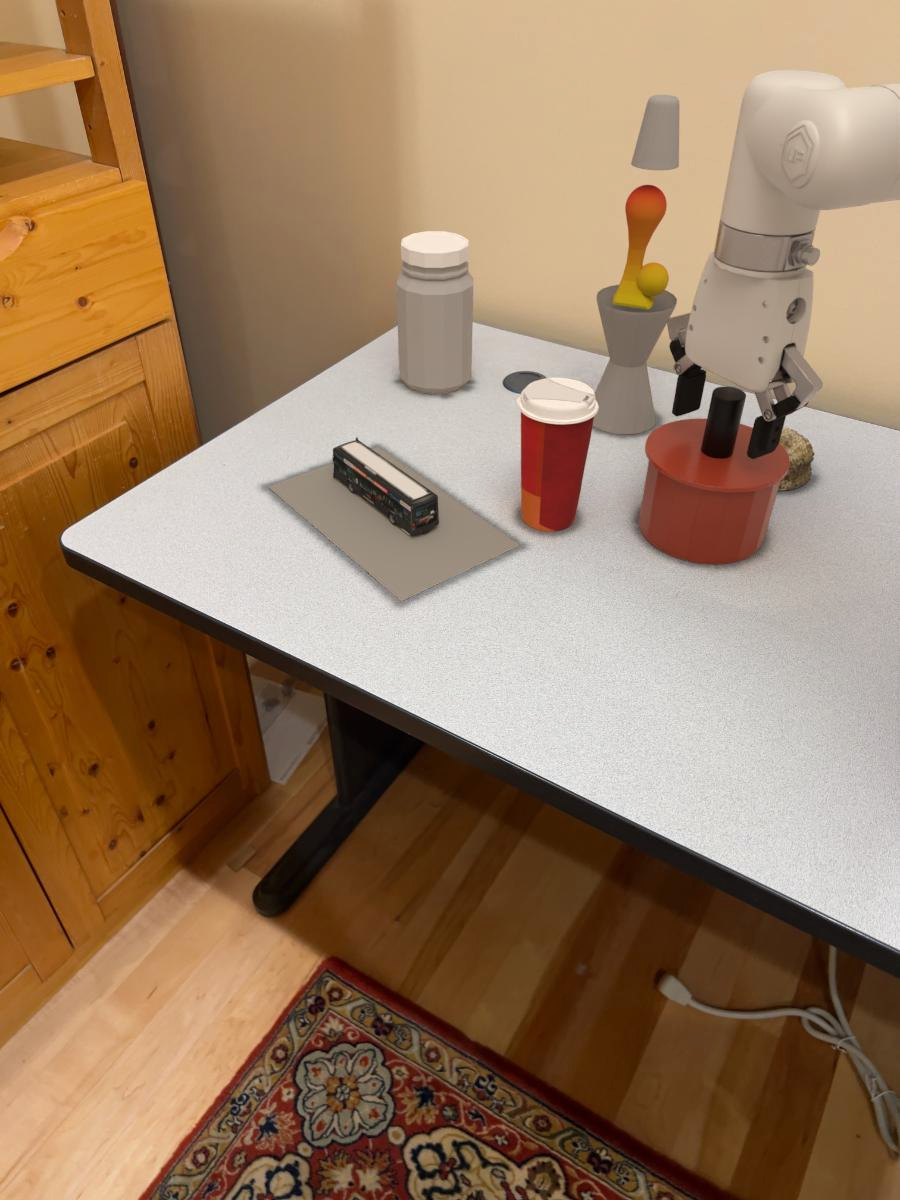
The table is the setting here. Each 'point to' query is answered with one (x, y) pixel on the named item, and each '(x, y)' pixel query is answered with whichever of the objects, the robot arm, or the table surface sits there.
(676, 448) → the lid
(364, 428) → the table surface
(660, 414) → the table surface
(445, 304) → the jar
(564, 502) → the paper cup
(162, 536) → the table surface
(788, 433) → the cake
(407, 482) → the flat grey placemat
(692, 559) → the pot
